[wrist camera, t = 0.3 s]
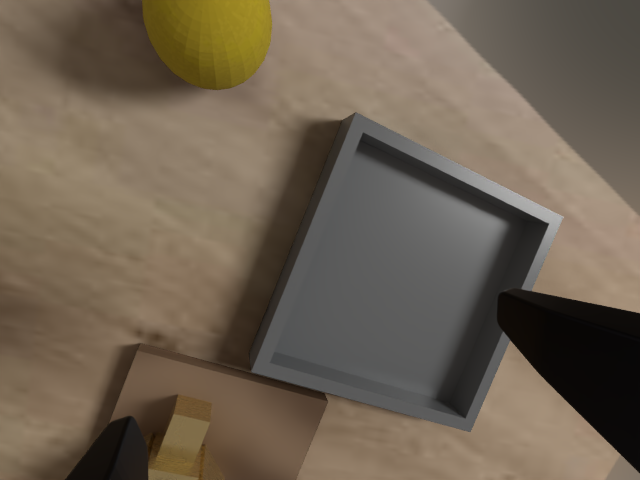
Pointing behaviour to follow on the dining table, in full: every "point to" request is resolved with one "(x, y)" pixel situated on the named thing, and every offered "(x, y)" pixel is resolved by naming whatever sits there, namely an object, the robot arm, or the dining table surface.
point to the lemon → (210, 38)
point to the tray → (400, 279)
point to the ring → (183, 444)
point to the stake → (226, 412)
